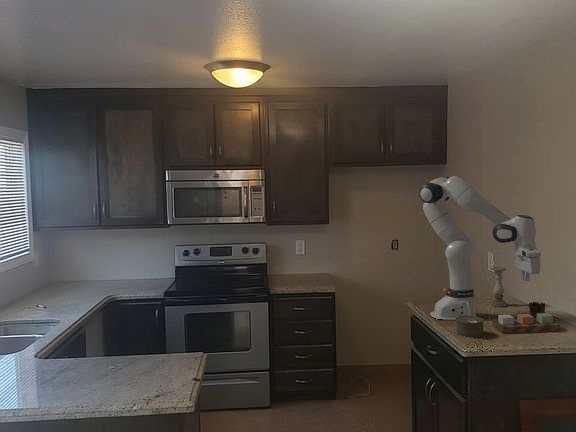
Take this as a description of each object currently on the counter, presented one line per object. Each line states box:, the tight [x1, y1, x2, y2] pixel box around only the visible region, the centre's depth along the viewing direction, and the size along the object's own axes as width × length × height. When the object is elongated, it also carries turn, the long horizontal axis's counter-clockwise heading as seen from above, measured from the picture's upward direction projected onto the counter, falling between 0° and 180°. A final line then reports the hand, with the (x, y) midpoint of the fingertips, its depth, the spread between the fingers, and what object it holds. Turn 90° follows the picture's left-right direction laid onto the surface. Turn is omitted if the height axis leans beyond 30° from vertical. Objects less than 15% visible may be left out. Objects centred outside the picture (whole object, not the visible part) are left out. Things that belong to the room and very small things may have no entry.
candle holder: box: [490, 266, 509, 308], centre depth 290 cm, size 9×9×20 cm
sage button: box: [537, 312, 554, 323], centre depth 246 cm, size 5×5×4 cm
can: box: [455, 315, 485, 338], centre depth 241 cm, size 12×12×7 cm
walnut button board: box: [491, 318, 561, 335], centre depth 246 cm, size 26×12×3 cm, turn 92°
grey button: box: [497, 314, 515, 325], centre depth 246 cm, size 5×5×4 cm
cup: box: [528, 301, 546, 318], centre depth 260 cm, size 8×7×8 cm
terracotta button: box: [516, 313, 533, 324], centre depth 246 cm, size 5×5×4 cm
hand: (525, 280), depth 244 cm, fingers closed
